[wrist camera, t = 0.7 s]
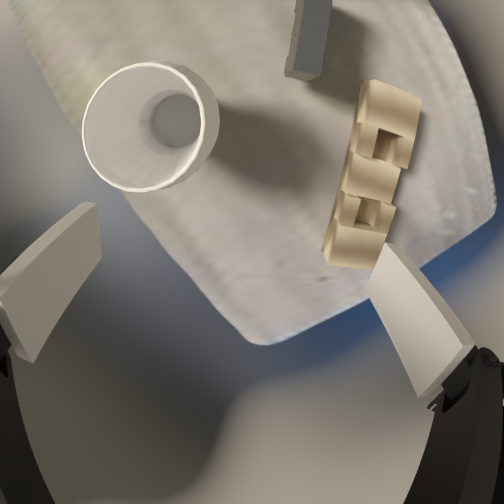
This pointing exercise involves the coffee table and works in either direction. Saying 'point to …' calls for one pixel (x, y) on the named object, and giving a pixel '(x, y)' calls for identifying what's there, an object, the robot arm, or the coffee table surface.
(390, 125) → the rail
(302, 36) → the grey block
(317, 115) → the coffee table surface
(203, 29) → the coffee table surface
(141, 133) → the cup
